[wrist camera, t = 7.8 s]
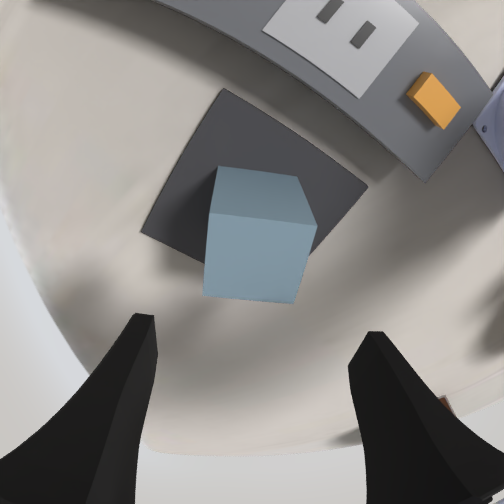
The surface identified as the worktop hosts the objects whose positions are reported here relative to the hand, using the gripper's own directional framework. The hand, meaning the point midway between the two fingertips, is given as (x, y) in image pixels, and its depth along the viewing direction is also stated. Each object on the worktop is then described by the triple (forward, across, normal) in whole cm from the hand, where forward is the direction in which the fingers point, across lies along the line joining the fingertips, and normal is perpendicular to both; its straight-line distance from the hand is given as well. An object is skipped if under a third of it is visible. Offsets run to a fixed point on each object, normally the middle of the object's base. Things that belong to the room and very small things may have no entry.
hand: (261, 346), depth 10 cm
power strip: (+10, +1, -12) cm, 16 cm away
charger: (+10, 0, 0) cm, 10 cm away
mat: (+10, 0, 0) cm, 10 cm away
